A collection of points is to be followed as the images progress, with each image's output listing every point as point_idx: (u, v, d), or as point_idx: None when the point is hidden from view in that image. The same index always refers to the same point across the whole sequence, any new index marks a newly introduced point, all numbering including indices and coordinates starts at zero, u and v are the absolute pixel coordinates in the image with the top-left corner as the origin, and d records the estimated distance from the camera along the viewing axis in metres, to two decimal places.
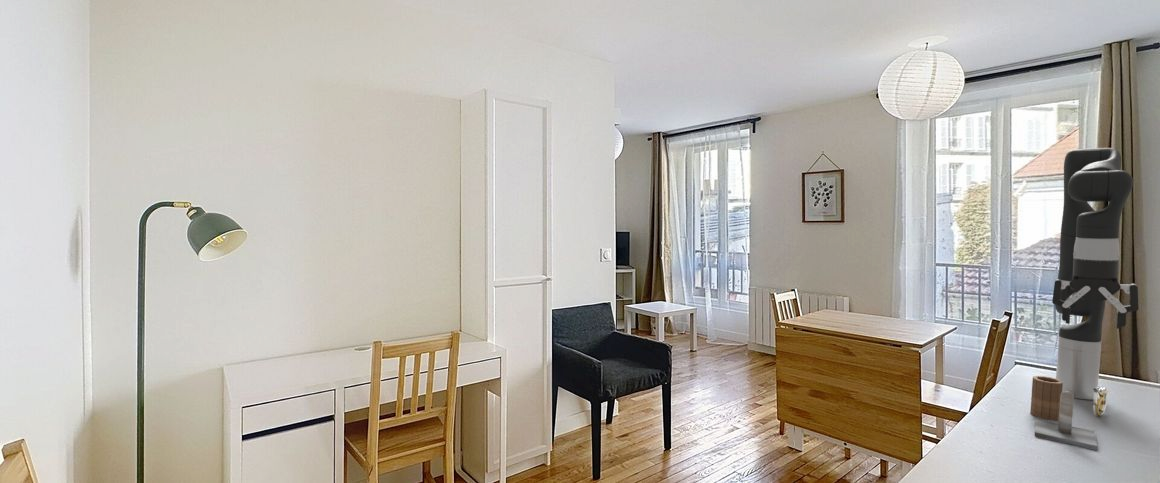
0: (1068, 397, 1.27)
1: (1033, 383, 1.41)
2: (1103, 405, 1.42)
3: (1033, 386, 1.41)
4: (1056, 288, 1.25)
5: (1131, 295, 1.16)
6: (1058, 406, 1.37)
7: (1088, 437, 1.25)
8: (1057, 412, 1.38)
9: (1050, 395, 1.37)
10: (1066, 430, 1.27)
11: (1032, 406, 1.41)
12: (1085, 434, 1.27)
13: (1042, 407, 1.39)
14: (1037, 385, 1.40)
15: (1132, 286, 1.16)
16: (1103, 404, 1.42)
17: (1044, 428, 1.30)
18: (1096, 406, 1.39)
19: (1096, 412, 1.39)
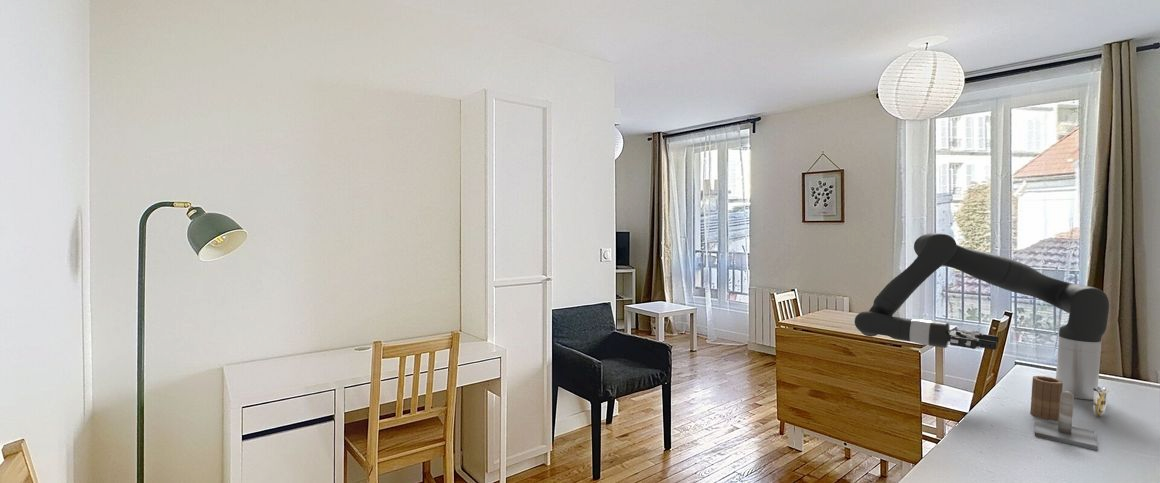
0: (1068, 397, 1.27)
1: (1033, 383, 1.41)
2: (1103, 405, 1.42)
3: (1033, 386, 1.41)
4: None
5: (960, 345, 1.47)
6: (1058, 406, 1.37)
7: (1088, 437, 1.25)
8: (1057, 412, 1.38)
9: (1050, 395, 1.37)
10: (1066, 430, 1.27)
11: (1032, 406, 1.41)
12: (1085, 434, 1.27)
13: (1042, 407, 1.39)
14: (1037, 385, 1.40)
15: None
16: (1103, 404, 1.42)
17: (1044, 428, 1.30)
18: (1096, 406, 1.39)
19: (1096, 412, 1.39)
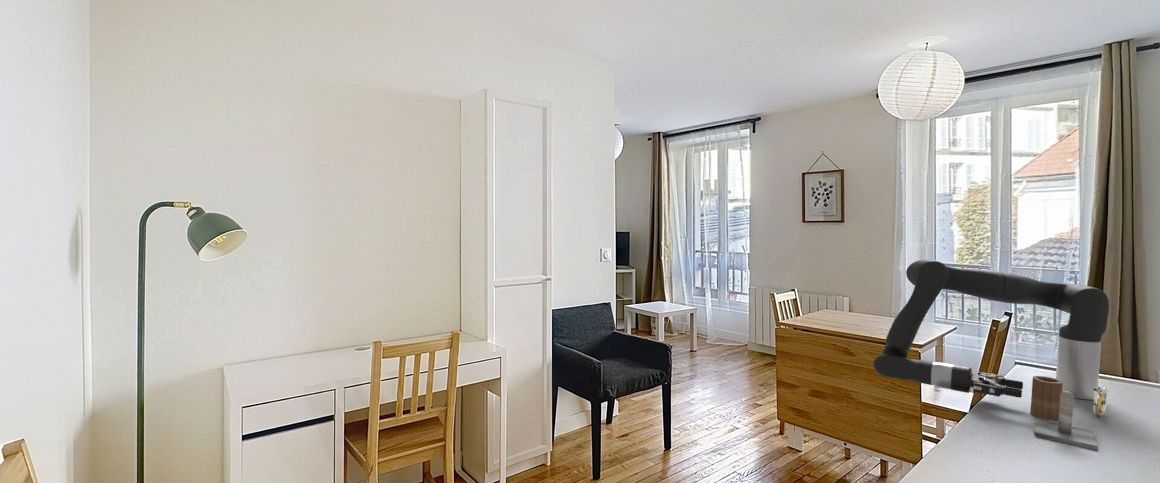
0: (1068, 397, 1.27)
1: (1033, 383, 1.41)
2: (1103, 405, 1.42)
3: (1033, 386, 1.41)
4: None
5: None
6: (1058, 406, 1.37)
7: (1088, 437, 1.25)
8: (1057, 412, 1.38)
9: (1050, 395, 1.37)
10: (1066, 430, 1.27)
11: (1032, 406, 1.41)
12: (1085, 434, 1.27)
13: (1042, 407, 1.39)
14: (1037, 385, 1.40)
15: None
16: (1103, 404, 1.42)
17: (1044, 428, 1.30)
18: (1096, 406, 1.39)
19: (1096, 412, 1.39)
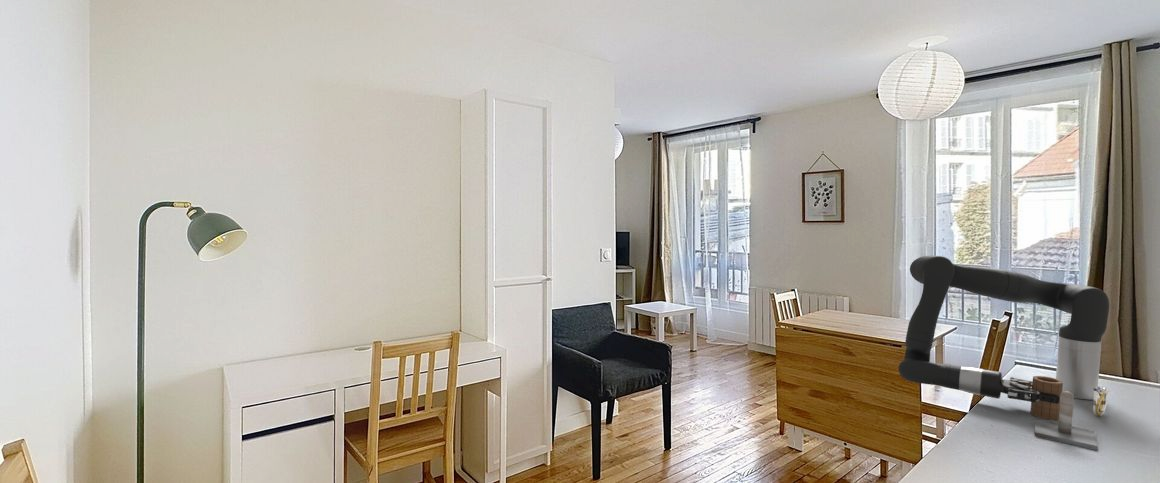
0: (1068, 397, 1.27)
1: (1033, 383, 1.41)
2: (1103, 405, 1.42)
3: (1033, 386, 1.41)
4: None
5: None
6: (1058, 406, 1.37)
7: (1088, 437, 1.25)
8: (1057, 412, 1.37)
9: None
10: (1066, 430, 1.27)
11: (1032, 406, 1.41)
12: (1085, 434, 1.27)
13: (1042, 407, 1.39)
14: (1037, 385, 1.40)
15: None
16: (1103, 404, 1.42)
17: (1044, 428, 1.30)
18: (1096, 406, 1.39)
19: (1096, 412, 1.39)
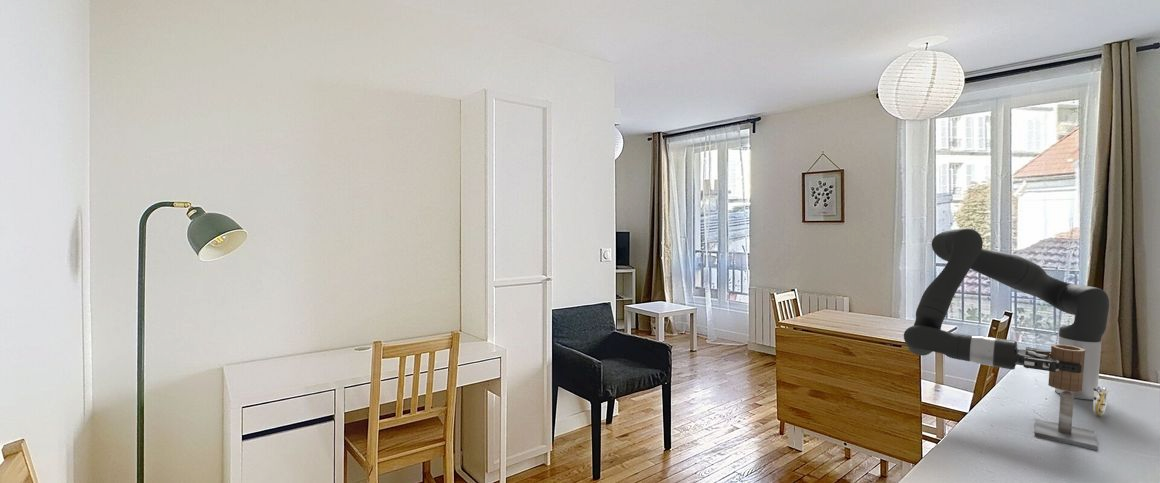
0: (1068, 397, 1.27)
1: (1052, 352, 1.28)
2: (1103, 405, 1.42)
3: (1052, 355, 1.28)
4: None
5: None
6: (1080, 376, 1.25)
7: (1088, 437, 1.25)
8: (1078, 383, 1.25)
9: None
10: (1066, 430, 1.27)
11: (1050, 377, 1.29)
12: (1085, 434, 1.27)
13: (1062, 377, 1.26)
14: (1057, 353, 1.27)
15: None
16: (1103, 404, 1.42)
17: (1044, 428, 1.30)
18: (1096, 406, 1.39)
19: (1096, 412, 1.39)
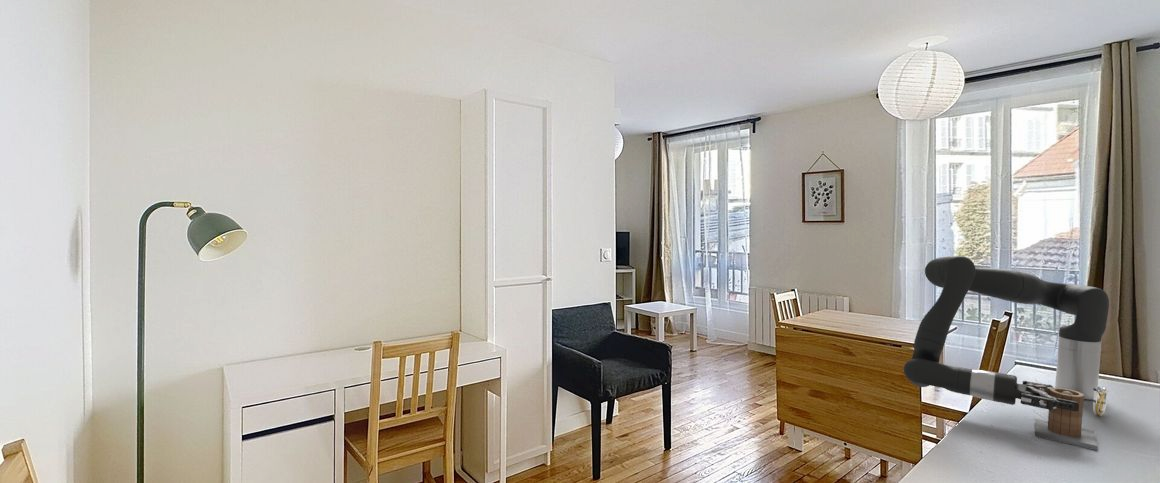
0: None
1: None
2: (1103, 405, 1.42)
3: None
4: None
5: None
6: (1079, 421, 1.25)
7: (1088, 437, 1.25)
8: (1078, 428, 1.25)
9: None
10: None
11: (1050, 421, 1.29)
12: (1085, 434, 1.27)
13: (1061, 422, 1.26)
14: None
15: None
16: (1103, 404, 1.42)
17: (1044, 428, 1.30)
18: (1096, 406, 1.39)
19: (1096, 412, 1.39)
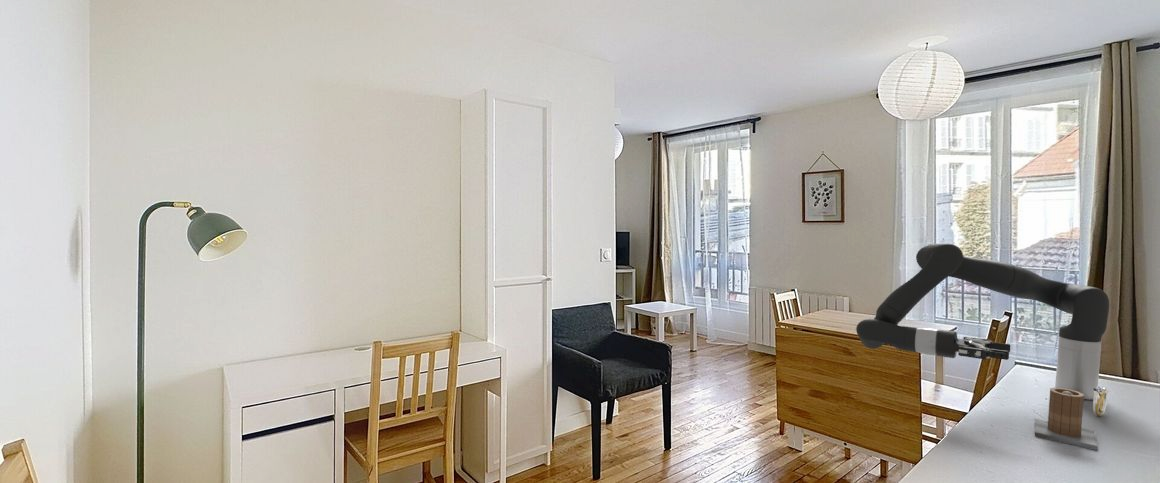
0: None
1: (1051, 396, 1.29)
2: (1103, 405, 1.42)
3: (1051, 399, 1.29)
4: None
5: None
6: (1079, 421, 1.25)
7: (1088, 437, 1.25)
8: (1078, 428, 1.25)
9: (1070, 409, 1.25)
10: None
11: (1050, 421, 1.29)
12: (1085, 434, 1.27)
13: (1061, 422, 1.26)
14: (1056, 398, 1.27)
15: None
16: (1103, 404, 1.42)
17: (1044, 428, 1.30)
18: (1096, 406, 1.39)
19: (1096, 412, 1.39)
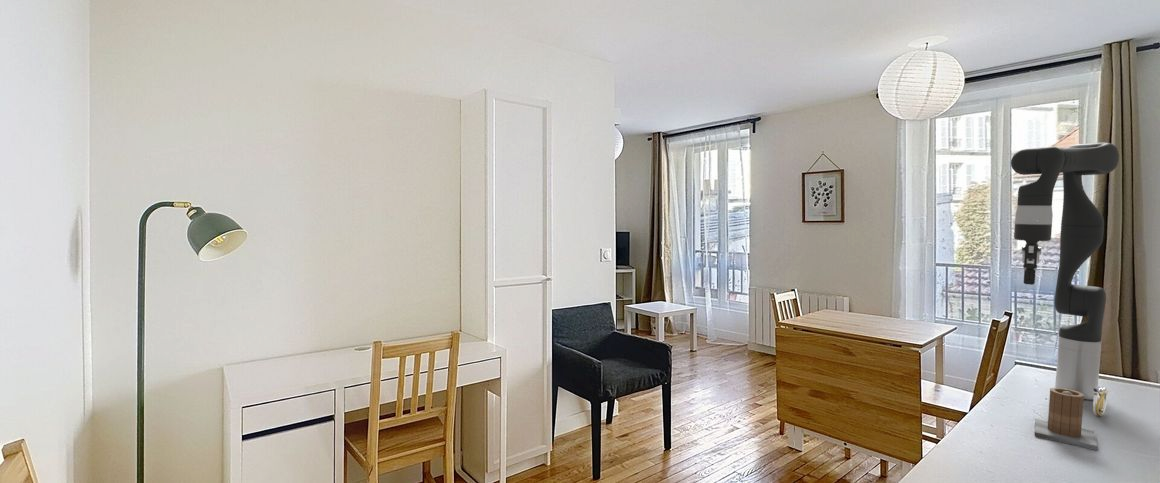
0: None
1: (1051, 396, 1.29)
2: (1103, 405, 1.42)
3: (1051, 399, 1.29)
4: None
5: (1025, 254, 1.36)
6: (1079, 421, 1.25)
7: (1088, 437, 1.25)
8: (1078, 428, 1.25)
9: (1070, 409, 1.25)
10: None
11: (1050, 421, 1.29)
12: (1085, 434, 1.27)
13: (1061, 422, 1.26)
14: (1056, 398, 1.27)
15: None
16: (1103, 404, 1.42)
17: (1044, 428, 1.30)
18: (1096, 406, 1.39)
19: (1096, 412, 1.39)
